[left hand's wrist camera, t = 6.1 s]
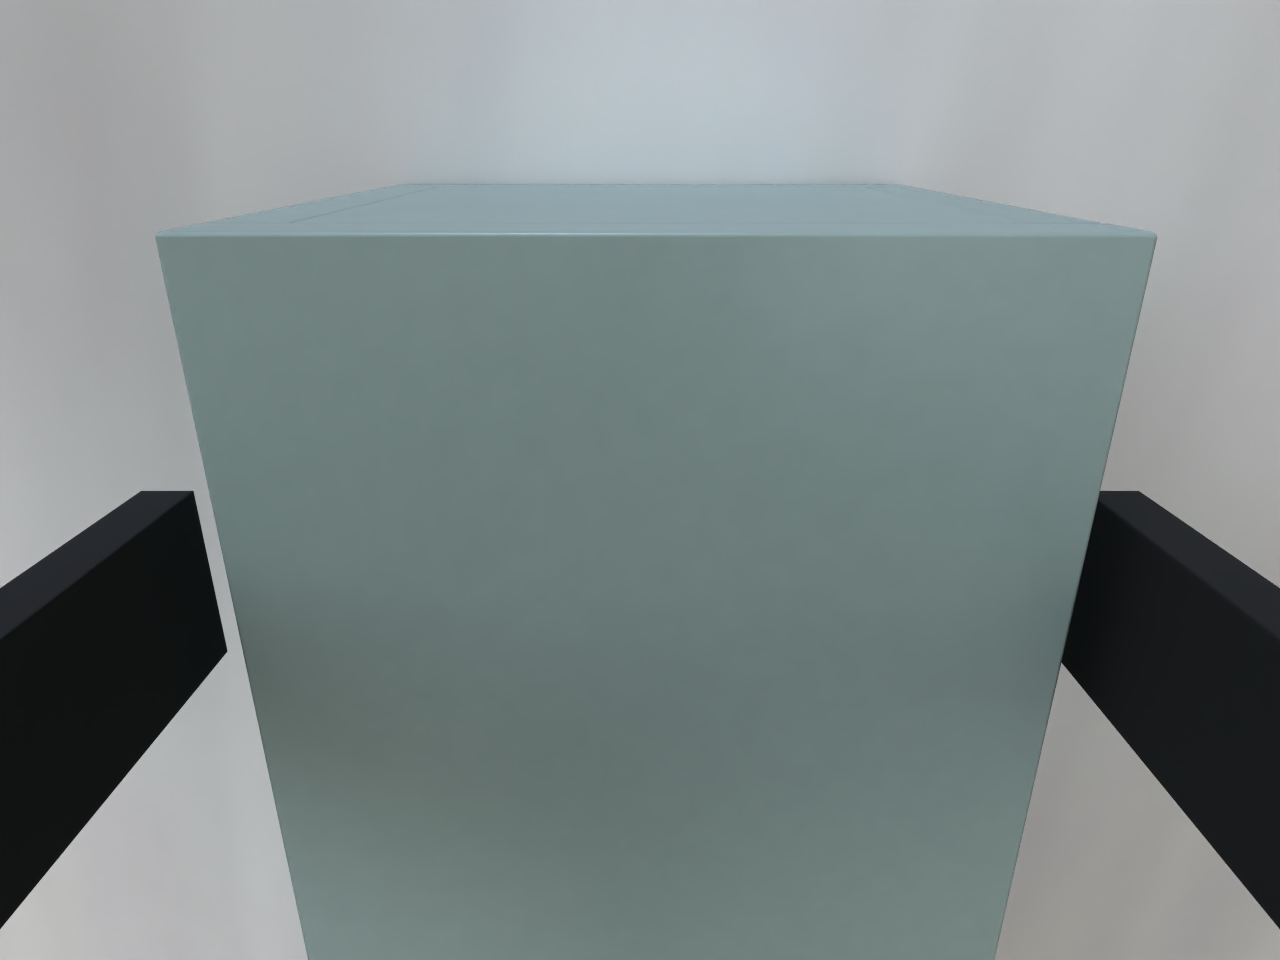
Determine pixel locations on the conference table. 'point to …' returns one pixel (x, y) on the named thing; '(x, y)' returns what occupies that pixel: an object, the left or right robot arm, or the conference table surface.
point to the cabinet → (653, 553)
